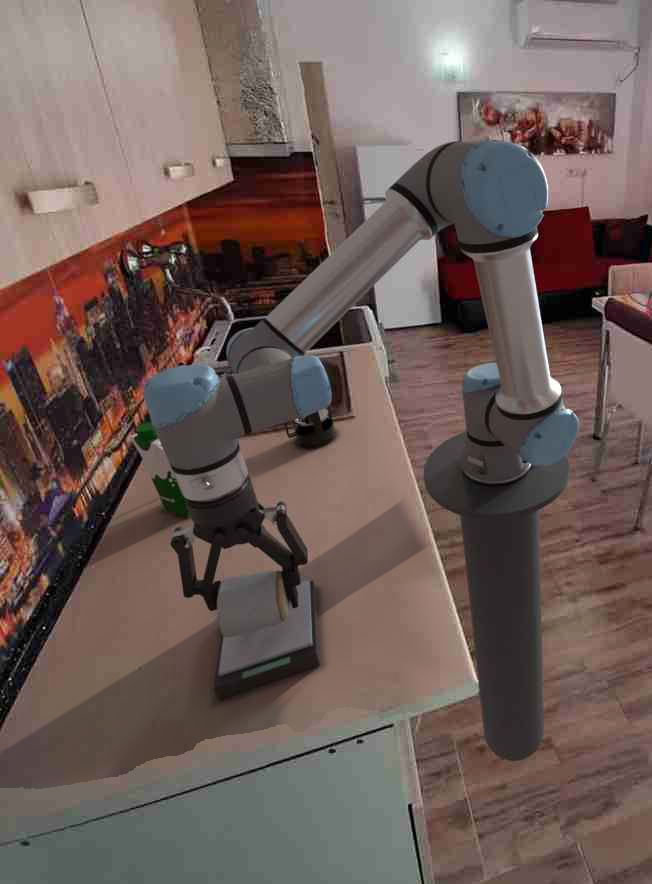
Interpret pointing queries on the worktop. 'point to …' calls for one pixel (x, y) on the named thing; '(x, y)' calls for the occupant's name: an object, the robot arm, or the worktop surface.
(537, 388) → the robot arm
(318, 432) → the french press
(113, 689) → the worktop surface
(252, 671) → the kitchen scale
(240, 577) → the ceramic mug
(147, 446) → the milk carton
